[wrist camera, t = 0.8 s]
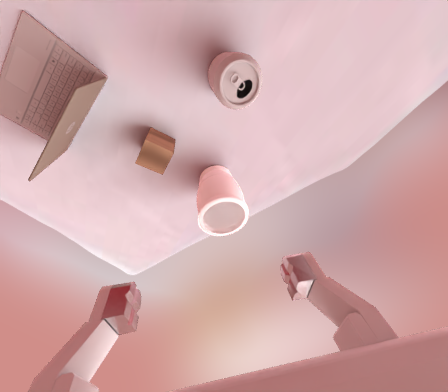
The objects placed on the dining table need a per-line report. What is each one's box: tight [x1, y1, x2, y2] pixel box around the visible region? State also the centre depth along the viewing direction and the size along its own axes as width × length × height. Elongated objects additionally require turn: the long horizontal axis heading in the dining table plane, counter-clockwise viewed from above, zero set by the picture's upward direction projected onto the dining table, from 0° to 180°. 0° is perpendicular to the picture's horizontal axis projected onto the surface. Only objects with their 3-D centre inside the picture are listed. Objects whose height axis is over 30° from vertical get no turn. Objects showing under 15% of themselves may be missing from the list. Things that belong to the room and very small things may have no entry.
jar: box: [197, 165, 249, 236], centre depth 45 cm, size 11×10×15 cm
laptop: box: [0, 11, 108, 181], centre depth 30 cm, size 18×12×13 cm
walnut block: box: [136, 127, 175, 175], centre depth 41 cm, size 6×6×7 cm
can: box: [208, 52, 262, 110], centre depth 33 cm, size 8×8×12 cm
